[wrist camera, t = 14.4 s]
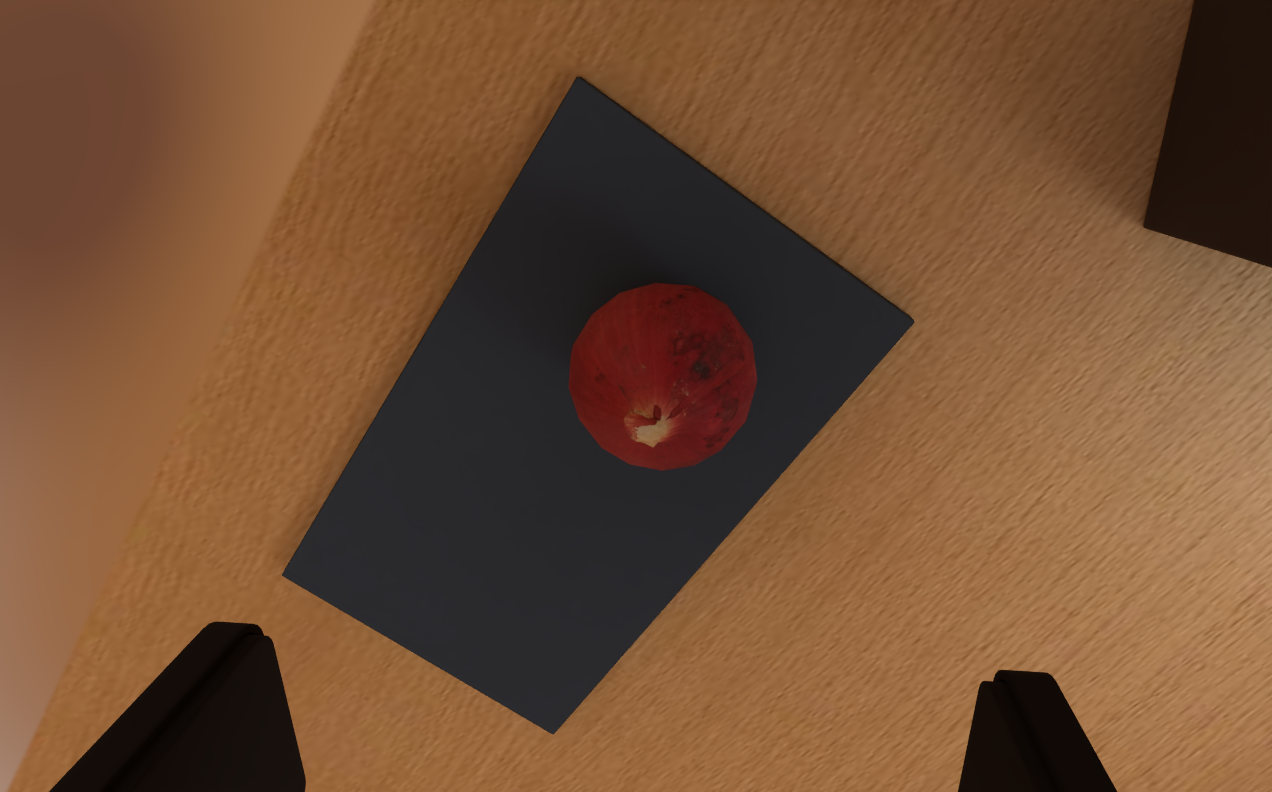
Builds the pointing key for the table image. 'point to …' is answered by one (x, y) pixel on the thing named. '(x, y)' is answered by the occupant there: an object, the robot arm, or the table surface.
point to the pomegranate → (663, 376)
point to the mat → (576, 420)
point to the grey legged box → (1220, 135)
